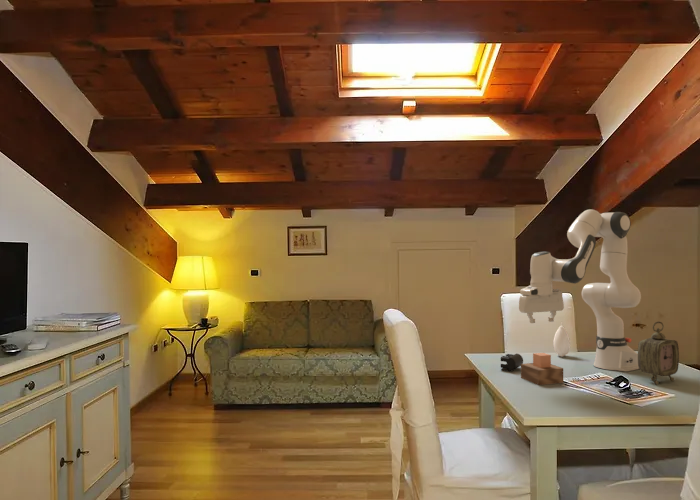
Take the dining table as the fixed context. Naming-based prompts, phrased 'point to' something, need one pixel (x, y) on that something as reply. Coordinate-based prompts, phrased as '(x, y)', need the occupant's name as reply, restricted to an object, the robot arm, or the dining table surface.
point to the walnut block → (542, 374)
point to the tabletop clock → (658, 355)
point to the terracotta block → (541, 360)
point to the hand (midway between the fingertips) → (541, 322)
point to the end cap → (511, 362)
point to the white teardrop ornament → (561, 341)
